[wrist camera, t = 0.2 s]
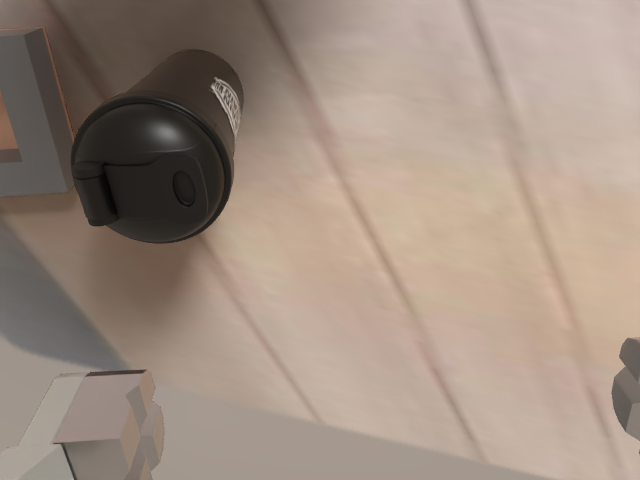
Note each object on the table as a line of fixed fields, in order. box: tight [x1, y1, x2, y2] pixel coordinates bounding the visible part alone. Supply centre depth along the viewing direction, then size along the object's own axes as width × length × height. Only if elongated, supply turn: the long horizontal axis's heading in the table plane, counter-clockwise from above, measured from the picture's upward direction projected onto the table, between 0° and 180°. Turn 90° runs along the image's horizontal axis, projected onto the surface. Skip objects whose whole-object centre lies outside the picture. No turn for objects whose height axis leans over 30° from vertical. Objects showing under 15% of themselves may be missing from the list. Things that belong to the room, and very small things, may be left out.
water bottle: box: [71, 50, 243, 243], centre depth 45 cm, size 10×10×23 cm
